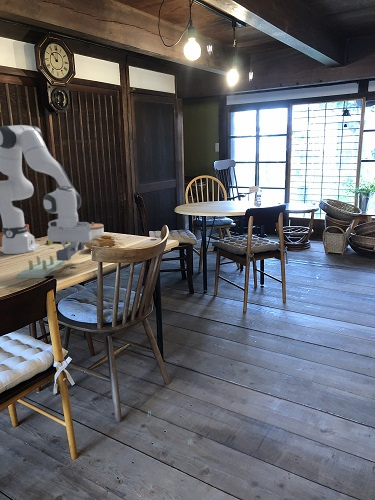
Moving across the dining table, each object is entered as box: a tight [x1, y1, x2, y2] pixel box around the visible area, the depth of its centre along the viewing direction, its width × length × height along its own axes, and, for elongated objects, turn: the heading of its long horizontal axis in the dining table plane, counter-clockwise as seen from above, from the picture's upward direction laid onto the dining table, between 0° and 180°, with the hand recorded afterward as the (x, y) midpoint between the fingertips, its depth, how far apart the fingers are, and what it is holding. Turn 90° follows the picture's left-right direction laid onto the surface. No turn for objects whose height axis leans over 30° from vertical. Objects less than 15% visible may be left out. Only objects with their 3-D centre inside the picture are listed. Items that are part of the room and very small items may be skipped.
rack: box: [16, 255, 66, 279], centre depth 188 cm, size 24×12×6 cm, turn 175°
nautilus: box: [84, 234, 125, 250], centre depth 223 cm, size 8×22×15 cm
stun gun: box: [46, 239, 71, 246], centre depth 247 cm, size 3×19×15 cm
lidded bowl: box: [89, 222, 105, 237], centre depth 245 cm, size 13×13×11 cm
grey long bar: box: [55, 242, 85, 262], centre depth 190 cm, size 21×5×4 cm, turn 175°
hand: (71, 250), depth 190 cm, fingers closed on grey long bar, 3 cm apart
